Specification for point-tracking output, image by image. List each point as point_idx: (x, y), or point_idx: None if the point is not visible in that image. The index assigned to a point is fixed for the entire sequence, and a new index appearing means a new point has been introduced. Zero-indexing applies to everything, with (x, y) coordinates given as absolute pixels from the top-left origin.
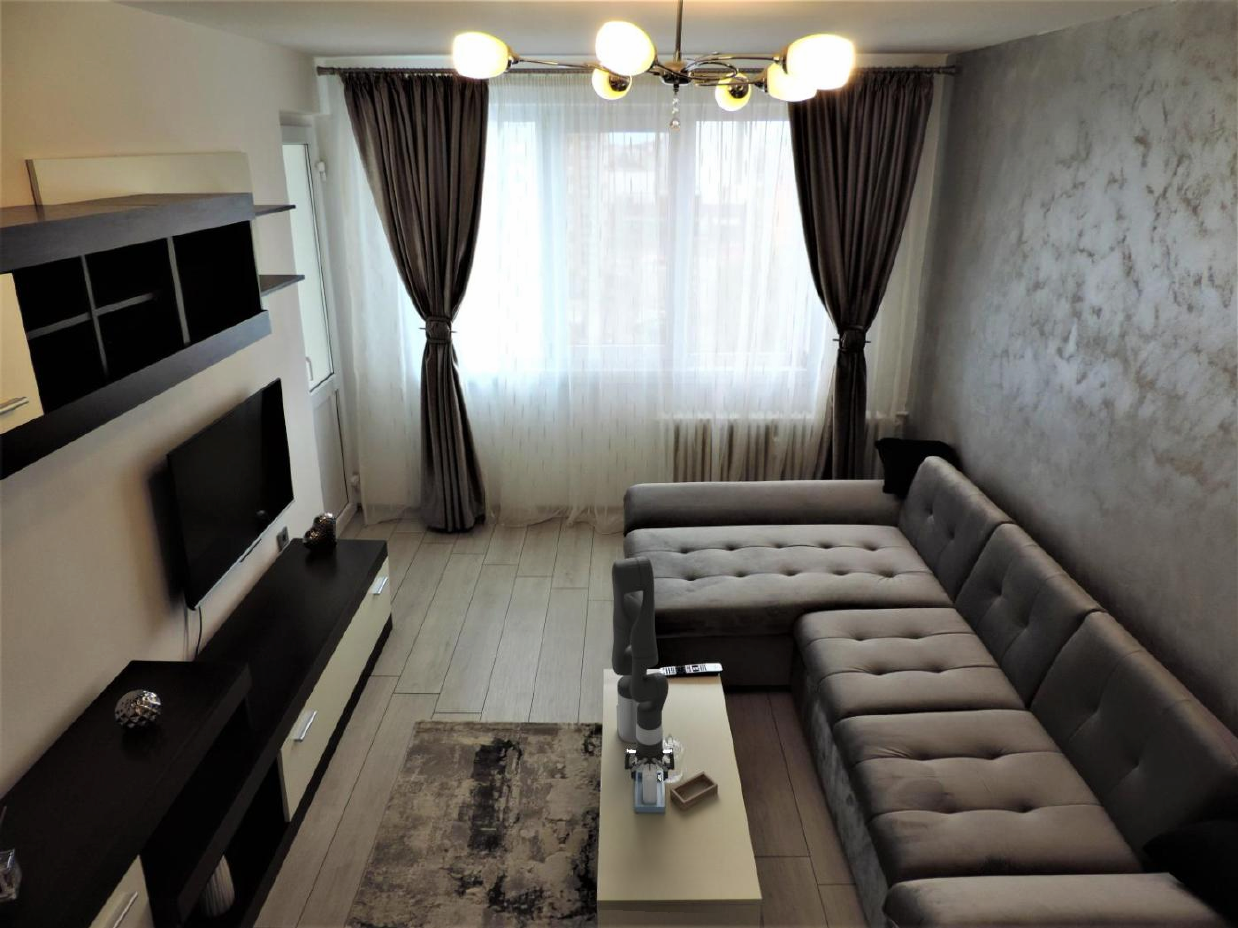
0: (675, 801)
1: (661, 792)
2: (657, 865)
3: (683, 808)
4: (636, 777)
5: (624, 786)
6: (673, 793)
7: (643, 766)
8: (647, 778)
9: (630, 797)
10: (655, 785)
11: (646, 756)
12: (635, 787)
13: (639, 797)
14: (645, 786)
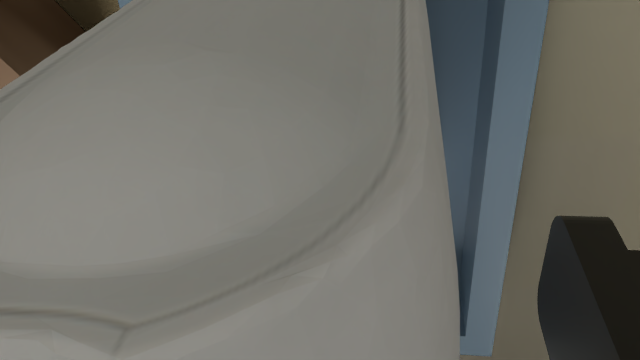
0: (48, 4)
1: None
2: None
3: None
4: (485, 284)
5: (607, 200)
6: (31, 67)
7: None
8: (233, 141)
9: (567, 57)
10: (98, 27)
11: None
12: (515, 156)
13: (461, 47)
14: (369, 5)
